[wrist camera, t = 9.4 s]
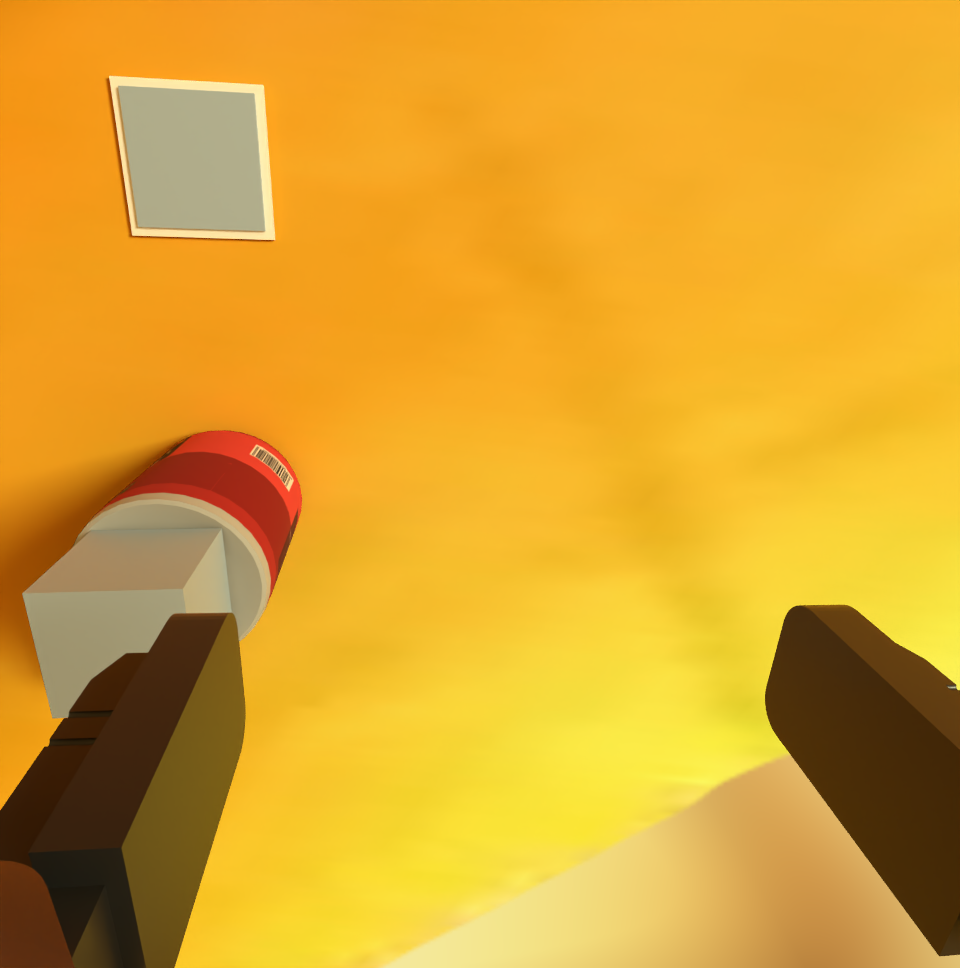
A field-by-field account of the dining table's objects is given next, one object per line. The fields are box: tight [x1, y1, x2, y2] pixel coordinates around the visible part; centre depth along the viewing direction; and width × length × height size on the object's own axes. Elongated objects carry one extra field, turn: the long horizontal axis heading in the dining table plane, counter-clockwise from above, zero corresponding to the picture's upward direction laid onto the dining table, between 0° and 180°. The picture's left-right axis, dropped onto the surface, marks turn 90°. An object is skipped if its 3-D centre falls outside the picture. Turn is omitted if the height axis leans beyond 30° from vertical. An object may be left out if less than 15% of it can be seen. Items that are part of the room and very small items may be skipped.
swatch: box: [109, 76, 275, 240], centre depth 31 cm, size 7×7×1 cm
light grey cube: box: [22, 528, 232, 718], centre depth 24 cm, size 5×5×5 cm
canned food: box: [73, 431, 302, 641], centre depth 32 cm, size 8×8×11 cm
